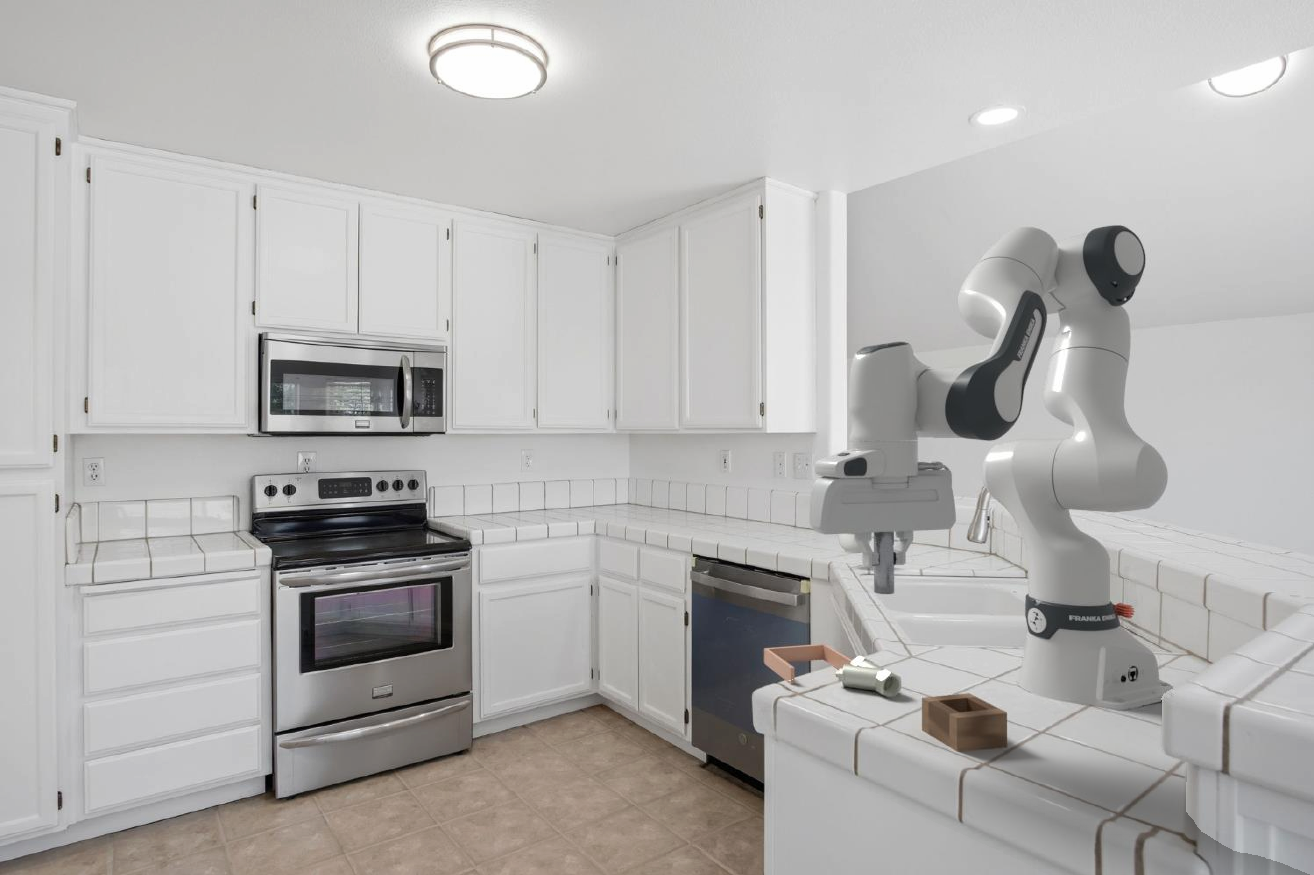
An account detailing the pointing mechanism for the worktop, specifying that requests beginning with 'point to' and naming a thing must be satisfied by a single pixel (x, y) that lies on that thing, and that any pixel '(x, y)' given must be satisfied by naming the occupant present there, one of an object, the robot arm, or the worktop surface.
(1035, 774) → the worktop surface
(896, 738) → the worktop surface
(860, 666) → the pipe fitting
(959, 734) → the block
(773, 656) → the corral
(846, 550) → the lidded jar
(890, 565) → the cylinder
